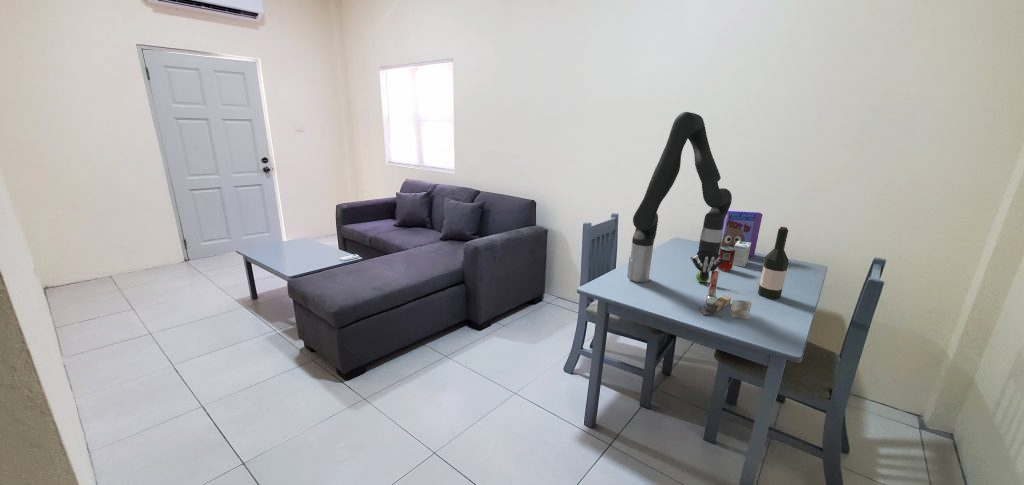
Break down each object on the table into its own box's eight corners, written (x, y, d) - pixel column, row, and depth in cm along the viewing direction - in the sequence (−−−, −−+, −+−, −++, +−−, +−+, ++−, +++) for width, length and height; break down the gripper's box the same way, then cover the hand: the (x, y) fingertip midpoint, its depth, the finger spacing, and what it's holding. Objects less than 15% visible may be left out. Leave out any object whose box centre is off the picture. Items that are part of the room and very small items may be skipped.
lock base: (704, 316, 154) (707, 300, 152) (691, 299, 169) (693, 284, 167) (748, 318, 153) (751, 303, 151) (731, 301, 168) (733, 287, 166)
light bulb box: (733, 259, 220) (737, 240, 217) (747, 262, 216) (751, 242, 213) (730, 264, 212) (733, 244, 209) (744, 267, 208) (748, 247, 205)
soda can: (733, 272, 200) (737, 249, 197) (718, 270, 202) (721, 248, 199) (730, 268, 206) (734, 246, 203) (715, 266, 208) (719, 244, 205)
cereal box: (720, 254, 228) (727, 212, 221) (717, 251, 232) (724, 210, 226) (753, 256, 225) (762, 214, 218) (750, 253, 230) (759, 212, 223)
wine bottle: (753, 291, 178) (767, 224, 169) (771, 291, 179) (786, 224, 170) (766, 299, 170) (781, 230, 161) (785, 299, 171) (801, 230, 162)
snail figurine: (711, 285, 184) (716, 259, 181) (696, 283, 185) (701, 258, 182) (708, 280, 189) (713, 256, 186) (694, 279, 191) (698, 254, 187)
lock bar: (715, 306, 154) (719, 284, 152) (705, 304, 156) (709, 282, 153) (716, 291, 168) (720, 271, 165) (706, 290, 169) (710, 269, 167)
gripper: (698, 241, 158) (690, 282, 163) (732, 242, 158) (724, 284, 163) (690, 235, 165) (683, 276, 170) (722, 237, 165) (715, 277, 170)
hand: (703, 279), depth 167 cm, fingers closed
